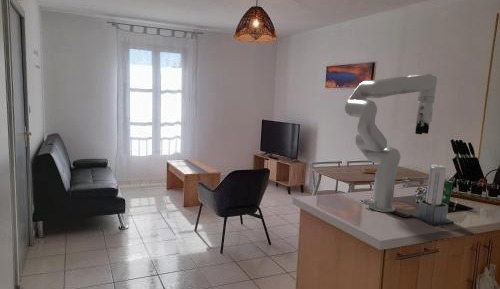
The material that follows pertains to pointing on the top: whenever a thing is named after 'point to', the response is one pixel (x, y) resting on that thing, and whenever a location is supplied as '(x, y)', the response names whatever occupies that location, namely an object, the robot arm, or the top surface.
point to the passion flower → (420, 193)
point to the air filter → (435, 185)
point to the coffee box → (447, 192)
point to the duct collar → (432, 214)
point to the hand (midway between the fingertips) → (421, 133)
